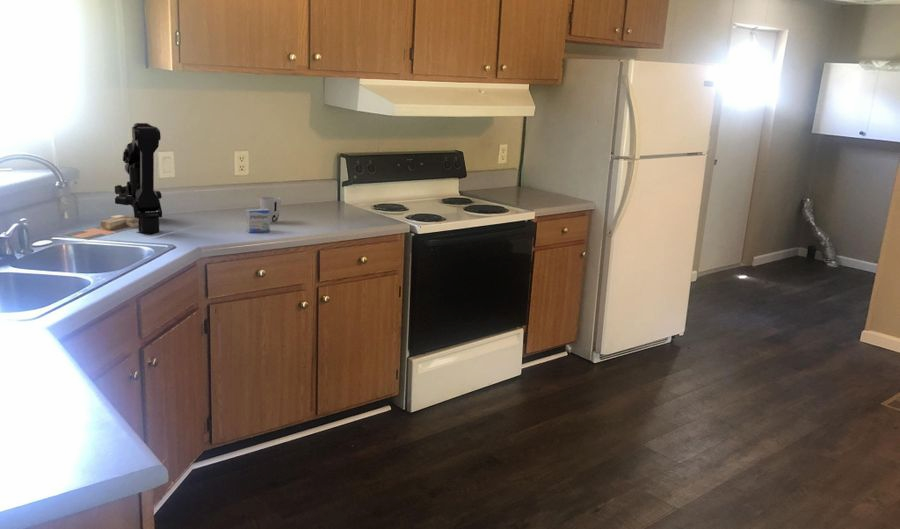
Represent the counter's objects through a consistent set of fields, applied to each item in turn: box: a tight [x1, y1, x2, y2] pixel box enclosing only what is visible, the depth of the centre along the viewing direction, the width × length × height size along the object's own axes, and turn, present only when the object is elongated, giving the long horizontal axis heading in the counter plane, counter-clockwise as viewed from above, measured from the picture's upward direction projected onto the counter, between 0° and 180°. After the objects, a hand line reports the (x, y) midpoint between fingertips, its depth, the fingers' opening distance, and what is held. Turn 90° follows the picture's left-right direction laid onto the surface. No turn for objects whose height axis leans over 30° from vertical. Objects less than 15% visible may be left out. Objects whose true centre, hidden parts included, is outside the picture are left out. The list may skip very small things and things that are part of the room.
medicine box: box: [245, 208, 271, 234], centre depth 274 cm, size 8×4×9 cm, turn 117°
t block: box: [100, 214, 139, 231], centre depth 266 cm, size 10×12×3 cm
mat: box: [62, 225, 139, 241], centre depth 261 cm, size 12×26×1 cm, turn 161°
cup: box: [259, 196, 281, 225], centre depth 290 cm, size 8×8×10 cm
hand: (140, 219), depth 277 cm, fingers closed
